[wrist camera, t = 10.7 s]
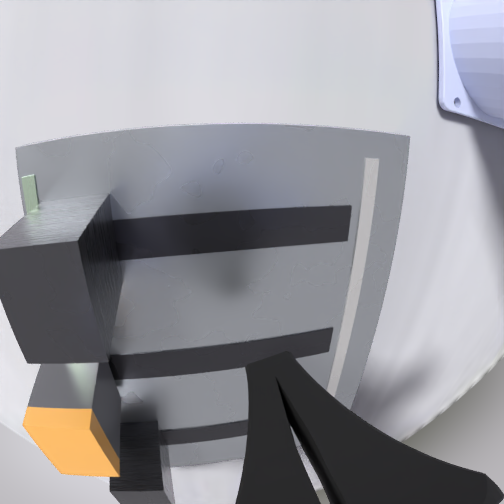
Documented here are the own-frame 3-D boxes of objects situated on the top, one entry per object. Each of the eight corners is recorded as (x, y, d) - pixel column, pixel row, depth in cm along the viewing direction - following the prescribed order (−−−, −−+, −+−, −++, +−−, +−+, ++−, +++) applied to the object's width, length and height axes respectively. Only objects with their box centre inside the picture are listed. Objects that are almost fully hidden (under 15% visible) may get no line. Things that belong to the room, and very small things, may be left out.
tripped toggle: (102, 343, 11) (89, 428, 7) (121, 399, 12) (119, 476, 9) (47, 346, 10) (22, 425, 7) (72, 399, 12) (61, 473, 8)
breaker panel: (392, 132, 12) (489, 155, 7) (333, 421, 19) (366, 480, 15) (29, 144, 9) (-55, 172, 4) (123, 453, 16) (126, 524, 12)
